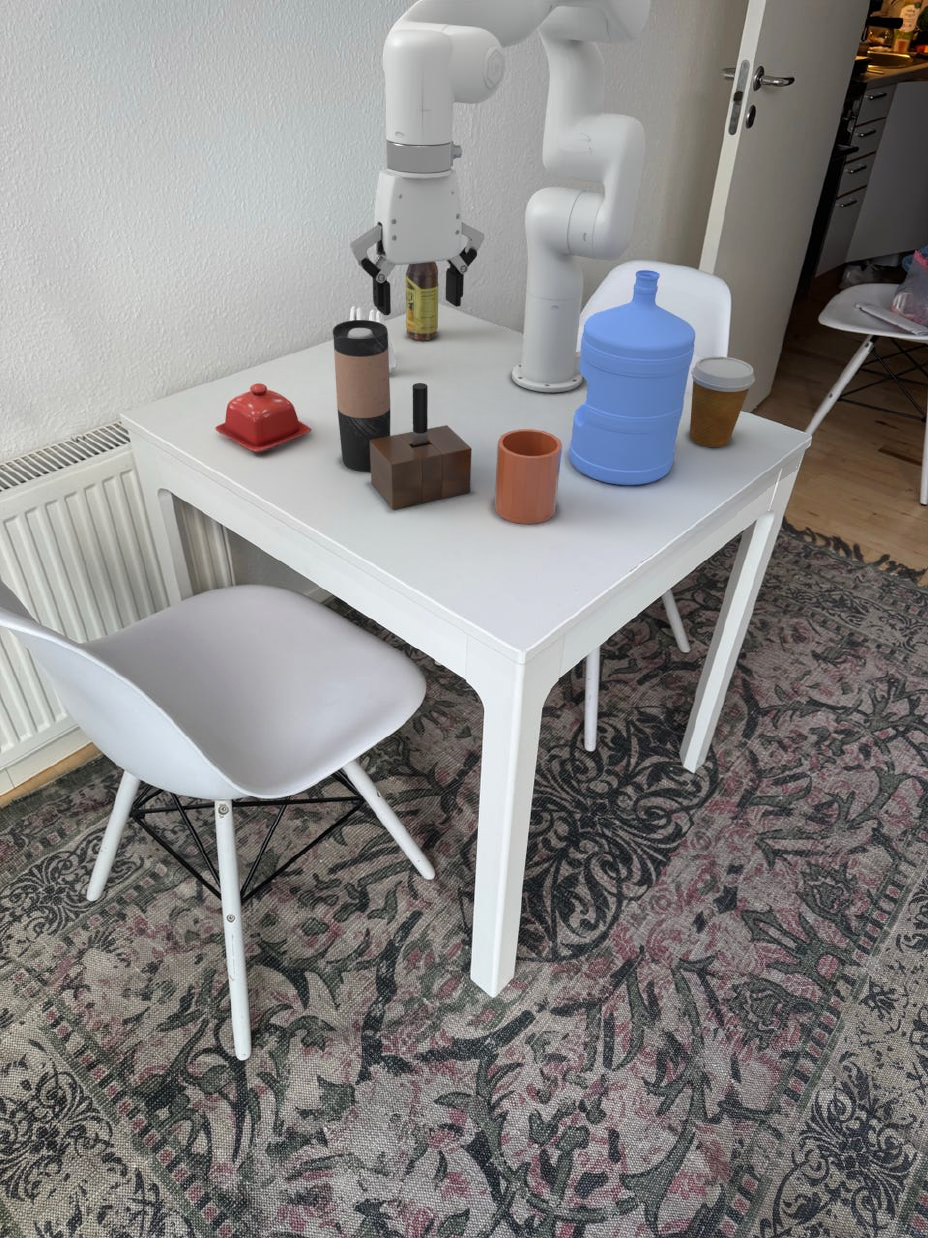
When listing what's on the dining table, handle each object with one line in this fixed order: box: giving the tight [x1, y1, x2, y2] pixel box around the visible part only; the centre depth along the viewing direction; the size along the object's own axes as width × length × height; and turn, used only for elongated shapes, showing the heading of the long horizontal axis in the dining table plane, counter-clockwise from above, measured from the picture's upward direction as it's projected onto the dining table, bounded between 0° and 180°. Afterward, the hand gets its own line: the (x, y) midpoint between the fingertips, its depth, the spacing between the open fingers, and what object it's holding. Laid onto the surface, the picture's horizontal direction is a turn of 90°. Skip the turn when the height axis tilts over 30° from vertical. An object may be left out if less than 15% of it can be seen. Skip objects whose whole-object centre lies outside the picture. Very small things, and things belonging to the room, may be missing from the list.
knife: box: [412, 382, 429, 448], centre depth 123 cm, size 2×2×16 cm
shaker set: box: [349, 305, 399, 374], centre depth 159 cm, size 12×4×11 cm, turn 36°
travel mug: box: [332, 319, 391, 472], centre depth 128 cm, size 8×8×20 cm
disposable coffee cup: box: [689, 355, 756, 448], centre depth 139 cm, size 10×10×12 cm
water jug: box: [568, 269, 696, 486], centre depth 127 cm, size 16×16×28 cm
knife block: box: [370, 424, 472, 511], centre depth 125 cm, size 12×8×7 cm, turn 116°
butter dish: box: [214, 383, 312, 453], centre depth 137 cm, size 12×12×8 cm
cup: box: [494, 428, 563, 525], centre depth 121 cm, size 8×8×10 cm
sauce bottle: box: [405, 261, 439, 341], centre depth 169 cm, size 7×6×20 cm
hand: (418, 307), depth 113 cm, fingers open, 9 cm apart
